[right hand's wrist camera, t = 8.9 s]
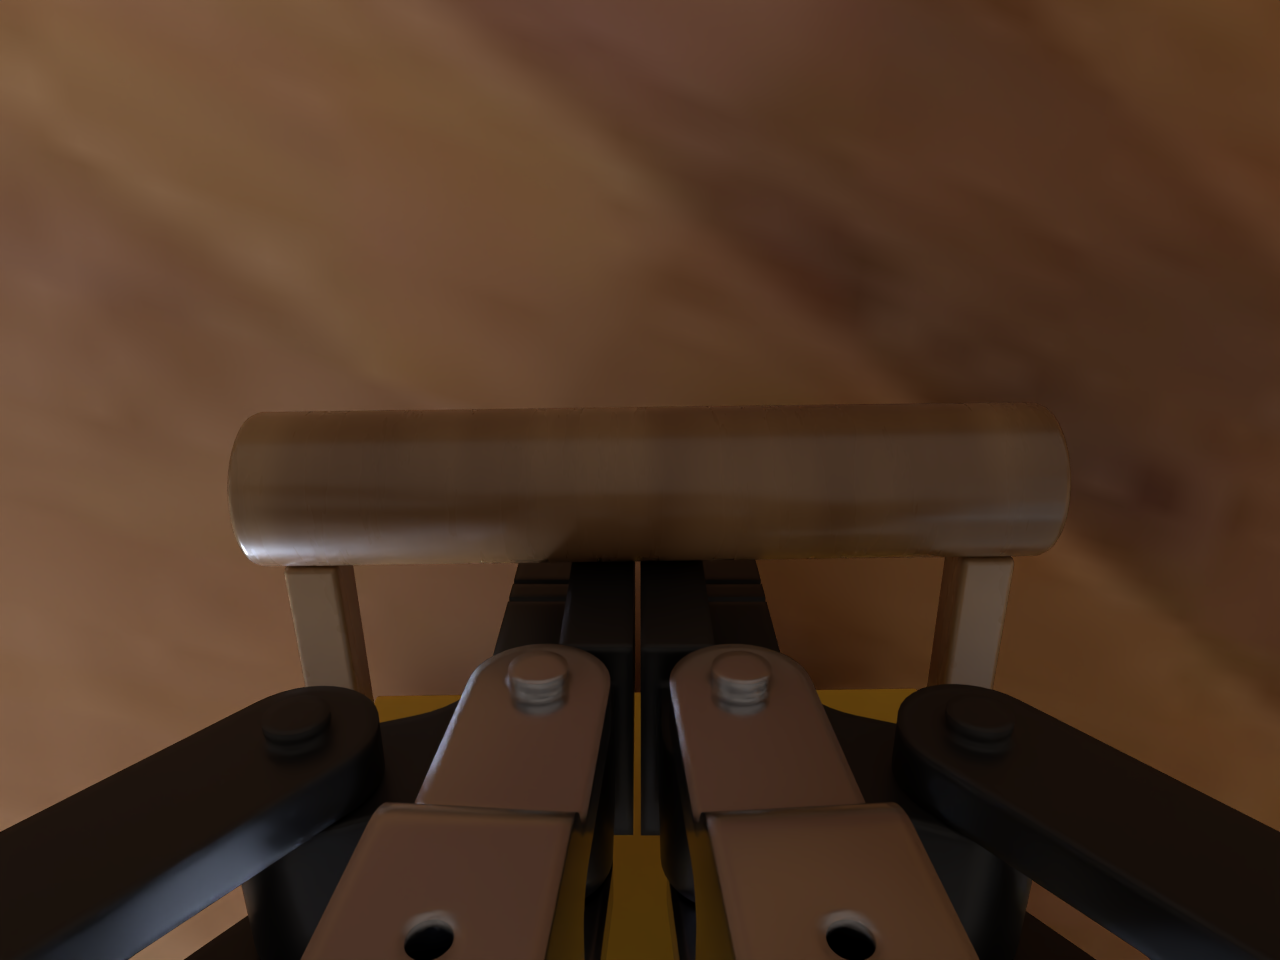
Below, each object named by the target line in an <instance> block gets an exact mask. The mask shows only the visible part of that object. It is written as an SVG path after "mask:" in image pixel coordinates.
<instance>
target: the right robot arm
mask: <svg viewBox="0 0 1280 960" xmlns="http://www.w3.org/2000/svg"><path fill="white" fill-rule="evenodd" d="M634 706H635V561H621V562H548V563H519V564H518V568H517V572H516V575H515V579H514V584H513V586H512V589H511V593H510V597H509V602H508V604H507V607H506V611H505V615H504V618H503V622H502V625H501V629H500V632H499V636H498V640H497V643H496V647H495V650H494V654H493V656H492V657H491V658H489V659H487V660H486V661H484V662H483V663H482V664H480V665H479V666H478V667H477V668H476V669H475V671H474V672H473V673H472V675H471V676H470V678H469V680H468V682H467V684H466V687H465V689H464V691H463V694H462V696H461V698H460V699H459V700H457V701H456V702H454V703H451V704H449V705H447V706H445V707H442V708H440V709H437V710H434V711H431V712H427V713H423V714H419V715H415V716H410V717H405V718H400V719H395V720H390V721H385V722H381V723H380V721H379V713H378V710H377V708H376V706H375V704H374V703H373V702H372V701H371V700H370V699H369V698H368V697H366V696H365V695H364V694H362V693H359V692H357V691H355V690H352V689H348V688H344V687H337V686H310V687H303V688H297V689H292V690H288V691H284V692H281V693H278V694H275V695H272V696H269V697H267V698H265V699H263V700H260V701H258V702H256V703H254V704H252V705H250V706H248V707H246V708H244V709H242V710H240V711H238V712H236V713H234V714H232V715H230V716H228V717H226V718H224V719H222V720H220V721H218V722H216V723H214V724H212V725H211V726H209V727H207V728H205V729H203V730H201V731H199V732H197V733H195V734H193V735H191V736H189V737H187V738H185V739H183V740H181V741H179V742H177V743H175V744H173V745H171V746H169V747H167V748H165V749H163V750H161V751H159V752H157V753H155V754H153V755H151V756H149V757H147V758H145V759H143V760H141V761H139V762H137V763H136V764H134V765H132V766H130V767H128V768H126V769H124V770H122V771H120V772H118V773H116V774H114V775H112V776H110V777H108V778H106V779H104V780H102V781H100V782H98V783H96V784H94V785H92V786H90V787H88V788H86V789H84V790H82V791H80V792H78V793H76V794H74V795H72V796H70V797H68V798H66V799H64V800H63V801H61V802H59V803H57V804H55V805H53V806H51V807H49V808H47V809H45V810H43V811H41V812H39V813H37V814H35V815H33V816H31V817H29V818H27V819H25V820H23V821H21V822H19V823H17V824H15V825H13V826H11V827H9V828H7V829H5V830H3V831H1V832H0V960H128V959H129V958H131V957H132V956H133V955H135V954H136V953H138V952H139V951H141V950H142V949H144V948H145V947H147V946H148V945H150V944H152V943H153V942H155V941H156V940H158V939H159V938H161V937H162V936H164V935H165V934H167V933H168V932H170V931H171V930H173V929H174V928H176V927H177V926H179V925H180V924H182V923H183V922H185V921H186V920H188V919H189V918H191V917H192V916H194V915H196V914H197V913H199V912H200V911H202V910H203V909H205V908H206V907H208V906H209V905H211V904H212V903H214V902H215V901H217V900H218V899H220V898H221V897H223V896H224V895H226V894H227V893H229V892H230V891H232V890H233V889H235V888H236V887H238V886H240V885H242V889H243V894H244V899H245V903H246V908H247V913H248V916H246V917H245V918H244V919H242V920H241V921H239V922H238V923H236V924H235V925H233V926H232V927H230V928H229V929H228V930H226V931H225V932H223V933H222V934H220V935H219V936H217V937H216V938H215V939H213V940H212V941H210V942H209V943H207V944H206V945H204V946H203V947H202V948H200V949H199V950H197V951H196V952H194V953H193V954H191V955H190V956H188V957H187V958H186V959H184V960H606V956H607V948H608V940H609V932H610V925H611V917H612V909H613V844H614V835H633V810H634ZM641 835H660V858H661V865H662V868H663V871H664V874H665V876H666V877H667V893H666V894H667V909H668V917H669V925H670V933H671V941H672V949H673V957H674V960H1096V959H1094V958H1093V957H1091V956H1090V955H1089V954H1087V953H1086V952H1084V951H1083V950H1081V949H1080V948H1078V947H1077V946H1076V945H1074V944H1073V943H1071V942H1070V941H1068V940H1067V939H1065V938H1064V937H1063V936H1061V935H1060V934H1058V933H1057V932H1055V931H1054V930H1052V929H1051V928H1049V927H1048V926H1047V925H1045V924H1044V923H1042V922H1041V921H1039V920H1038V919H1036V918H1035V917H1034V916H1032V915H1031V914H1029V913H1028V912H1026V907H1027V902H1028V898H1029V893H1030V888H1031V884H1032V880H1033V881H1034V882H1036V883H1037V884H1039V885H1040V886H1042V887H1043V888H1045V889H1047V890H1048V891H1050V892H1051V893H1053V894H1054V895H1056V896H1057V897H1059V898H1060V899H1062V900H1063V901H1065V902H1066V903H1068V904H1069V905H1071V906H1072V907H1074V908H1075V909H1077V910H1078V911H1080V912H1081V913H1083V914H1084V915H1086V916H1087V917H1089V918H1091V919H1092V920H1094V921H1095V922H1097V923H1098V924H1100V925H1101V926H1103V927H1104V928H1106V929H1107V930H1109V931H1110V932H1112V933H1113V934H1115V935H1116V936H1118V937H1119V938H1121V939H1122V940H1124V941H1125V942H1127V943H1128V944H1130V945H1131V946H1133V947H1135V948H1136V949H1138V950H1139V951H1140V952H1142V953H1143V954H1145V955H1146V956H1147V957H1149V958H1150V959H1151V960H1280V832H1279V831H1277V830H1275V829H1273V828H1271V827H1269V826H1267V825H1265V824H1263V823H1261V822H1259V821H1257V820H1255V819H1253V818H1251V817H1249V816H1247V815H1245V814H1243V813H1241V812H1239V811H1237V810H1235V809H1233V808H1231V807H1229V806H1227V805H1225V804H1223V803H1221V802H1219V801H1217V800H1215V799H1214V798H1212V797H1210V796H1208V795H1206V794H1204V793H1202V792H1200V791H1198V790H1196V789H1194V788H1192V787H1190V786H1188V785H1186V784H1184V783H1182V782H1180V781H1178V780H1176V779H1174V778H1172V777H1170V776H1168V775H1166V774H1164V773H1162V772H1160V771H1158V770H1156V769H1154V768H1152V767H1150V766H1148V765H1146V764H1144V763H1142V762H1140V761H1139V760H1137V759H1135V758H1133V757H1131V756H1129V755H1127V754H1125V753H1123V752H1121V751H1119V750H1117V749H1115V748H1113V747H1111V746H1109V745H1107V744H1105V743H1103V742H1101V741H1099V740H1097V739H1095V738H1093V737H1091V736H1089V735H1087V734H1085V733H1083V732H1081V731H1079V730H1077V729H1075V728H1073V727H1071V726H1069V725H1067V724H1066V723H1064V722H1062V721H1060V720H1058V719H1056V718H1054V717H1052V716H1050V715H1048V714H1046V713H1044V712H1042V711H1040V710H1038V709H1036V708H1034V707H1032V706H1030V705H1028V704H1026V703H1024V702H1022V701H1020V700H1018V699H1016V698H1013V697H1011V696H1009V695H1007V694H1004V693H1001V692H998V691H995V690H991V689H987V688H983V687H979V686H972V685H964V684H941V685H934V686H929V687H926V688H922V689H920V690H917V691H915V692H913V693H912V694H910V695H909V696H908V697H906V698H905V699H904V701H903V702H902V703H901V705H900V707H899V710H898V715H897V723H891V722H886V721H881V720H877V719H872V718H867V717H862V716H857V715H853V714H849V713H845V712H842V711H839V710H836V709H833V708H830V707H828V706H826V705H823V704H822V703H821V700H820V698H819V696H818V694H817V691H816V689H815V687H814V685H813V682H812V680H811V678H810V676H809V675H808V673H807V672H806V671H805V669H804V668H803V667H802V666H801V665H799V664H798V663H797V662H796V661H794V660H793V659H791V658H789V657H788V656H786V655H784V654H781V653H780V650H779V647H778V643H777V639H776V636H775V632H774V628H773V624H772V621H771V617H770V613H769V609H768V606H767V602H765V595H764V591H763V587H762V584H761V580H760V576H759V572H758V568H757V565H756V561H755V560H694V561H641Z"/></svg>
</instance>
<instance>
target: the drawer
mask: <svg viewBox="0 0 1280 960" xmlns="http://www.w3.org/2000/svg"><path fill="white" fill-rule="evenodd" d="M1070 492H1071V469H1070V460H1069V453H1068V448H1067V444H1066V440H1065V437H1064V434H1063V431H1062V429H1061V427H1060V424H1059V422H1058V421H1057V419H1056V417H1055V416H1054V415H1053V413H1052V412H1051V411H1050V410H1049V409H1048V408H1046V407H1044V406H1043V405H1040V404H1038V403H1034V402H1009V403H931V404H854V405H776V406H699V407H622V408H544V409H467V410H390V411H312V412H261V413H257V414H255V415H253V416H251V417H250V418H248V419H247V420H246V421H245V422H244V424H243V425H242V426H241V428H240V430H239V432H238V434H237V436H236V439H235V441H234V445H233V448H232V452H231V457H230V463H229V471H228V505H229V513H230V519H231V524H232V528H233V531H234V534H235V537H236V540H237V542H238V545H239V547H240V549H241V550H242V552H243V553H244V555H245V556H246V557H247V558H248V559H249V560H250V561H251V562H253V563H255V564H258V565H260V566H287V567H286V568H285V571H284V575H285V580H286V586H287V591H288V596H289V602H290V607H291V612H292V618H293V623H294V628H295V634H296V639H297V644H298V650H299V655H300V660H301V666H302V671H303V676H304V682H305V687H310V686H337V687H344V688H348V689H352V690H355V691H357V692H359V693H362V694H364V695H365V696H366V697H368V698H369V699H370V700H371V701H372V702H373V703H374V700H373V694H372V687H371V681H370V674H369V668H368V661H367V655H366V648H365V642H364V635H363V629H362V622H361V616H360V609H359V602H358V596H357V589H356V583H355V576H354V570H353V565H403V564H475V563H548V562H621V561H694V560H767V559H840V558H913V557H945V561H944V568H943V576H942V583H941V590H940V597H939V605H938V612H937V619H936V627H935V634H934V641H933V648H932V656H931V663H930V670H929V677H928V685H927V687H929V686H934V685H941V684H964V685H972V686H979V687H983V688H987V689H991V690H992V689H993V683H994V678H995V672H996V666H997V660H998V654H999V649H1000V643H1001V637H1002V631H1003V625H1004V619H1005V614H1006V608H1007V602H1008V596H1009V590H1010V585H1011V579H1012V573H1013V567H1014V561H1013V558H1012V557H1011V556H1036V555H1040V554H1042V553H1044V552H1046V551H1048V550H1049V549H1050V548H1051V547H1053V545H1054V544H1055V543H1056V541H1057V540H1058V538H1059V536H1060V534H1061V532H1062V530H1063V527H1064V524H1065V521H1066V518H1067V513H1068V509H1069V502H1070ZM816 691H817V694H818V696H819V698H820V700H821V703H822V704H823V705H826V706H828V707H830V708H833V709H836V710H839V711H842V712H845V713H849V714H853V715H857V716H862V717H867V718H872V719H877V720H881V721H886V722H891V723H897V715H898V710H899V707H900V705H901V703H902V702H903V701H904V699H905V698H906V697H908V696H909V695H910V694H912V693H913V692H915V691H917V690H916V689H844V690H816ZM461 696H462V695H427V696H379V697H377V698H376V700H375V703H374V704H375V706H376V708H377V710H378V713H379V721H380V723H381V722H385V721H390V720H395V719H400V718H405V717H410V716H415V715H419V714H423V713H427V712H431V711H434V710H437V709H440V708H442V707H445V706H447V705H449V704H451V703H454V702H456V701H457V700H459V699H460V698H461ZM666 893H667V877H666V876H665V874H664V871H663V868H662V865H661V858H660V835H641V692H636V693H635V706H634V810H633V835H614V844H613V909H612V917H611V925H610V932H609V940H608V948H607V956H606V960H674V957H673V949H672V941H671V933H670V925H669V917H668V909H667V894H666Z"/></svg>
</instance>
